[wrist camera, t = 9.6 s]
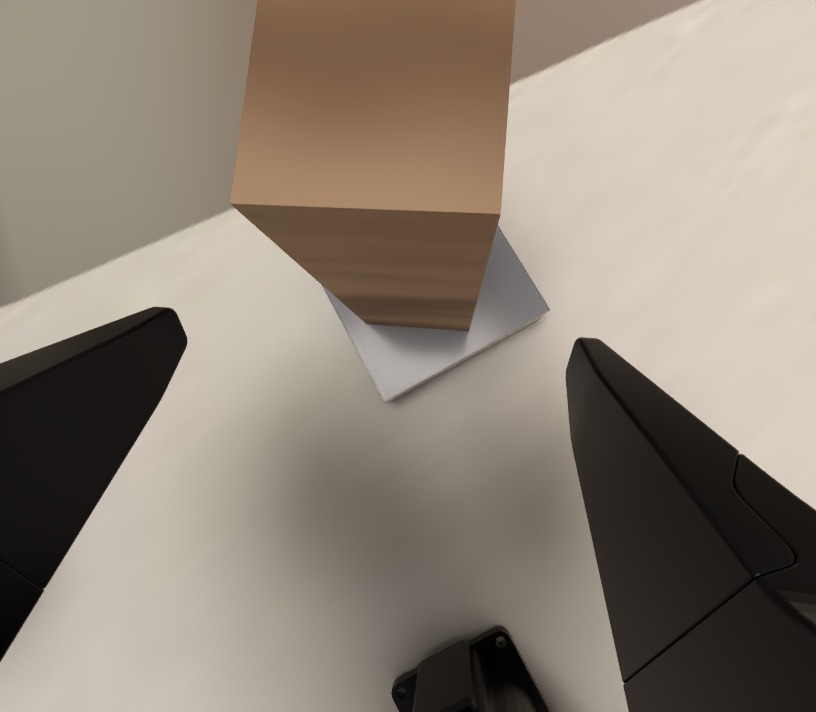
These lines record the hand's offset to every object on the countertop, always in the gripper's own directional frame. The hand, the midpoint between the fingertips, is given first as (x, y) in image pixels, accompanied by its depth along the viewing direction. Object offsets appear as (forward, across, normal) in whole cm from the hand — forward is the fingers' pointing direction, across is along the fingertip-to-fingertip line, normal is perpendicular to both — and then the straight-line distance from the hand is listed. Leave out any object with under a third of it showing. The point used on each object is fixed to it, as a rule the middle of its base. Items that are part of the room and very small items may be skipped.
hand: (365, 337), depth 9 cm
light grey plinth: (+12, 0, +6) cm, 14 cm away
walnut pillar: (+11, 0, +4) cm, 11 cm away
